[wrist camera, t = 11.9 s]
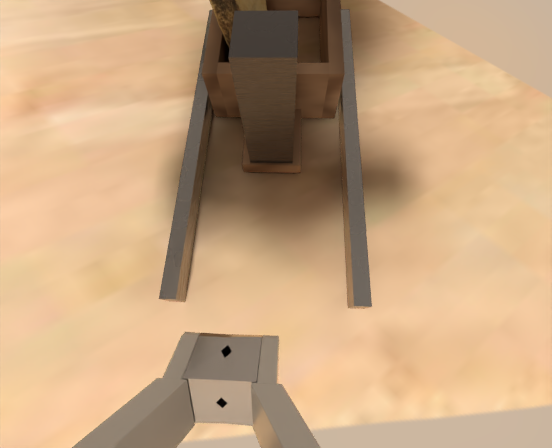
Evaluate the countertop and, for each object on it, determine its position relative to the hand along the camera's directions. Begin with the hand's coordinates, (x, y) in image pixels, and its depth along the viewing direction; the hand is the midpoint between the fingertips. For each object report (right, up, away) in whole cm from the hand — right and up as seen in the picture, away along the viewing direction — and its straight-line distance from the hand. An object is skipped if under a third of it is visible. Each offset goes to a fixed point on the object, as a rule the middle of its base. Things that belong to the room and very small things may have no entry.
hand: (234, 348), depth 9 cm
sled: (+1, +19, +20) cm, 27 cm away
